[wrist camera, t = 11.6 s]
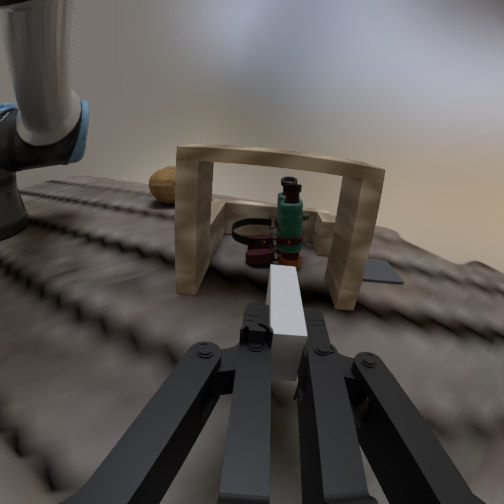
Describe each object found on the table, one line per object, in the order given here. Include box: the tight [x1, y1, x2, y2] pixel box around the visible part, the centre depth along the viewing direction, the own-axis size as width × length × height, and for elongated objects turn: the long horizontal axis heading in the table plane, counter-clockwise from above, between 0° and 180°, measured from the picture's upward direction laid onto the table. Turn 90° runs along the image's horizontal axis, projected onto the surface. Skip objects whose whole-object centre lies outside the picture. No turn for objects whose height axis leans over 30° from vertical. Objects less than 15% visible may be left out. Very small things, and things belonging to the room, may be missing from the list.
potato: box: [149, 166, 176, 204], centre depth 61 cm, size 10×14×8 cm
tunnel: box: [175, 144, 385, 310], centre depth 35 cm, size 18×21×14 cm
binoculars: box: [231, 177, 309, 269], centre depth 37 cm, size 9×11×10 cm
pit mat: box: [362, 258, 404, 284], centre depth 38 cm, size 8×7×1 cm
